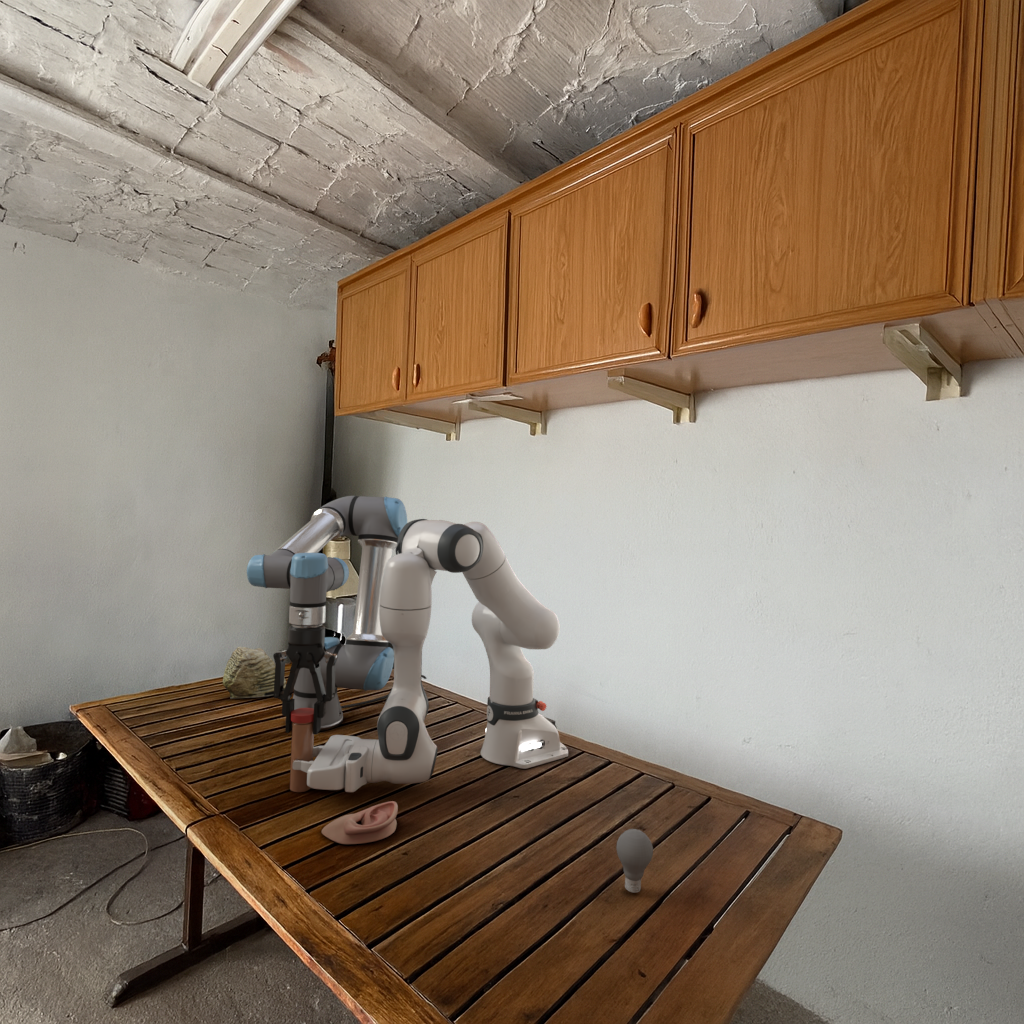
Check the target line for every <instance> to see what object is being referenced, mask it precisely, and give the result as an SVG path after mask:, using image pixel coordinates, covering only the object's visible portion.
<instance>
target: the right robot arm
mask: <svg viewBox="0 0 1024 1024" xmlns="http://www.w3.org/2000/svg"><path fill="white" fill-rule="evenodd" d="M394 551H395V555H392V557H391V558H390V559H389V560H388V561H387V563H386V566H385V570H384V574H383V579H382V584H381V592H380V605H379V618H380V626H381V633H382V635H383V637H384V638H385V639H386V640H387V641H388V642H389V644H391V646H392V649H393V651H394V663H393V684H392V687H391V689H390V690H389V693H388V694H389V695H388V694H387V695H388V697H387V698H386V700H385V703H384V706H383V707H382V710H381V712H380V713H379V715H378V718H377V723H376V728H377V729H376V730H377V731H376V732H377V739H373V738H361V737H360V736H355V735H348V734H347V735H345V734H334V735H331V736H330V737H329V739H328V740H327V741H326V743H325V744H324V745H317V746H314V748H313V758H314V759H313V761H309V762H307V761H303V759H295V761H294V762H293V769H294V770H301V771H304V772H306V773H307V786H309V787H311V789H315V790H326V791H340V790H343V789H344V792H345V793H354V792H356V791H357V790H358V789H360V788H361V787H363V786H365V785H367V784H376V783H381V782H387V783H390V784H394V785H395V784H397V785H398V784H399V785H400V784H401V785H405V784H406V785H407V784H410V785H411V784H420V783H424V782H427V781H429V779H431V778H432V776H433V774H434V770H435V767H436V761H437V756H438V752H439V751H438V746H437V744H435V743H434V741H433V739H432V737H431V736H430V735H429V732H428V730H427V727H426V724H425V720H426V717H427V716H428V713H429V708H430V705H429V704H430V702H429V698H428V696H427V695H428V694H427V693H426V691H425V689H424V685H423V681H422V680H423V679H422V677H421V675H423V674H422V672H423V670H422V669H423V667H422V666H423V647H424V644H425V641H426V639H427V637H428V632H429V627H430V623H431V615H432V604H433V603H432V602H433V601H432V599H433V598H432V597H433V596H432V595H433V594H432V590H433V589H432V584H433V581H434V579H435V576H436V575H437V572H438V571H443V572H444V571H445V572H449V573H452V574H453V573H454V574H457V573H462V574H463V576H464V578H465V581H466V582H467V584H468V587H470V590H471V592H472V593H473V595H474V597H475V599H476V600H477V601H478V602H477V603H476V604H475V606H474V607H473V610H472V612H471V624H472V628H473V630H474V631H475V632H476V633H477V635H478V636H479V637H480V639H481V641H482V644H483V646H484V649H485V652H486V656H487V660H488V665H489V696H488V697H487V704H486V721H487V723H486V728H485V735H484V740H483V742H482V746H481V749H480V751H479V752H480V756H481V757H482V758H483V759H484V760H486V761H488V762H490V763H493V764H495V765H496V764H497V765H501V766H508V767H509V766H510V767H515V768H518V769H522V770H526V769H530V768H534V767H537V766H541V765H544V764H547V763H551V762H554V761H557V760H561V759H564V758H567V757H569V749H568V747H566V745H565V744H563V742H561V740H560V734H559V730H558V726H557V725H556V720H555V719H551V718H548V717H547V716H544V715H542V714H541V713H539V710H540V712H543V711H546V709H547V707H548V706H547V704H546V702H543V701H542V700H540V701H539V700H538V699H536V698H534V685H535V683H534V682H535V680H534V679H535V670H534V667H533V665H532V664H531V662H530V661H529V660H528V659H527V658H526V656H525V654H524V652H523V649H527V650H547V649H550V648H552V646H553V645H555V643H556V641H557V640H558V638H559V635H560V629H561V625H560V620H559V617H558V615H557V614H556V612H554V611H553V610H551V609H549V607H546V606H545V605H544V604H543V603H541V602H540V601H539V600H538V599H537V597H536V596H534V595H533V594H532V592H530V590H528V589H527V587H526V586H525V585H524V584H523V583H522V582H521V580H520V579H519V578H518V575H516V573H515V571H514V569H513V567H512V566H511V563H510V561H509V559H508V557H507V555H506V553H505V551H504V549H503V548H502V546H501V544H500V542H499V541H498V539H497V538H496V536H495V535H494V533H493V532H492V531H491V530H490V529H489V527H487V525H486V524H485V523H482V522H480V521H469V522H466V523H456V522H453V521H449V520H443V519H427V518H418V519H414V520H410V521H407V524H406V525H405V526H404V527H403V528H402V530H401V532H400V534H399V537H398V541H397V546H396V548H395V549H394Z"/></svg>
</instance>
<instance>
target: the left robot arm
mask: <svg viewBox="0 0 1024 1024" xmlns="http://www.w3.org/2000/svg"><path fill="white" fill-rule="evenodd" d="M407 523H408V514H407V510H406V507H405V504H404V501H402V500H401V499H400V498H397V497H389V496H365V495H364V496H363V495H346V496H342V497H339V498H336V499H334V500H331V501H329V502H327V503H326V504H324V505H321V507H319V508H318V509H316V511H314V512H313V513H312V515H311V516H310V521H308V522H307V523H306V524H305V525H304V526H302V527H301V528H300V529H298V531H296V532H295V533H294V534H292V536H290V537H289V538H287V540H285V542H283V543H282V544H281V545H280V546H279V547H277V548H276V549H275V550H274V551H273V552H272V553H270V554H266V553H265V554H264V553H263V554H255V555H253V556H251V558H250V559H249V561H248V562H247V566H246V577H247V581H248V583H249V584H250V585H251V586H253V587H258V588H265V589H284V590H289V609H288V610H289V615H288V624H290V625H289V627H288V635H287V636H288V637H287V643H288V644H287V647H286V648H285V649H284V650H282V649H281V650H278V651H276V652H274V653H273V655H272V657H273V661H274V663H275V679H274V695H272V697H273V698H274V699H278V700H280V701H281V715H282V717H285V731H284V732H285V734H289V733H290V732H292V721H291V712H292V711H293V710H295V709H299V708H313V709H314V719H313V734H314V735H318V733H320V732H325V731H329V730H332V729H335V728H337V727H339V726H340V725H342V723H343V722H344V714H343V709H349V708H353V707H358V706H363V705H367V704H371V703H375V702H379V701H381V700H382V701H383V700H384V699H387V697H388V695H389V693H388V694H385V695H383V696H380V697H376V698H372V699H369V700H365V701H364V700H363V701H361V702H360V701H359V702H356V703H351V704H344V705H341V702H340V699H339V695H338V689H350V690H360V691H361V690H362V691H380V690H382V689H383V688H384V687H385V686H386V685H387V684H388V682H389V680H390V677H391V675H392V671H393V669H394V649H393V647H390V646H389V644H390V643H389V642H388V641H387V640H386V639H385V638H384V637H383V635H382V633H381V626H380V618H379V605H380V592H381V584H382V579H383V574H384V570H385V566H386V563H387V561H388V560H389V559H390V558H391V557H393V555H394V554H393V551H395V550H396V546H397V541H398V537H399V534H400V532H401V530H402V528H403V527H404V526H405V525H406V524H407ZM341 536H343V537H344V536H352V537H357V543H358V544H359V545H360V546H361V548H362V549H361V556H360V565H359V566H360V567H359V575H358V582H357V583H358V585H357V593H356V600H355V609H354V619H353V625H352V627H353V628H352V632H351V634H350V635H348V636H347V637H346V638H345V644H341V641H340V639H339V638H338V637H334V636H326V625H324V624H325V623H326V615H327V612H326V611H327V593H328V592H331V591H335V590H338V589H340V588H341V587H342V586H344V585H345V584H346V583H347V582H348V579H349V576H350V569H349V566H348V564H347V563H346V562H345V561H344V559H342V558H339V557H332V556H331V557H330V556H327V555H326V554H325V553H321V552H320V551H322V550H323V548H325V546H326V545H327V544H329V542H331V541H335V540H337V539H338V538H340V537H341ZM287 657H288V659H289V660H290V662H291V666H290V668H289V674H288V677H287V680H286V686H285V689H284V677H285V674H286V673H285V672H286V659H287ZM422 678H423V679H425V680H427V679H428V678H427V677H426V675H423V674H422V675H421V679H422ZM283 689H284V692H283Z"/></svg>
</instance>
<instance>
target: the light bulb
mask: <svg viewBox="0 0 1024 1024" xmlns="http://www.w3.org/2000/svg"><path fill="white" fill-rule="evenodd" d="M615 849H616V854H617V857H618V859H619V861H620V863H621V865H622V867H623V873H624V874H623V875H624V876H625V878H624V888H625V890H627V891H628V892H630V893H634V894H635V893H639V892H640V891H641V889H642V887H641V886H642V879H643V877H644V875H645V871H646V868H647V867H648V866H649V864H650V863H651V861H652V859H653V855H654V847H653V843H652V841H651V838H649V836H648V835H647V834H646V833H645V832H643V831H642V830H641V829H636V828H629V829H627V830H625V831H623V832H622V833H621V834H620V835H619V837H618V839H617V841H616V847H615Z"/></svg>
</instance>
